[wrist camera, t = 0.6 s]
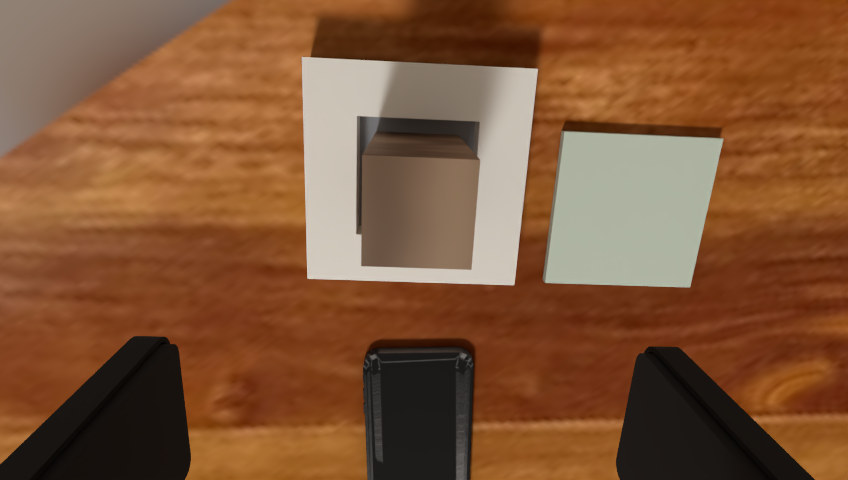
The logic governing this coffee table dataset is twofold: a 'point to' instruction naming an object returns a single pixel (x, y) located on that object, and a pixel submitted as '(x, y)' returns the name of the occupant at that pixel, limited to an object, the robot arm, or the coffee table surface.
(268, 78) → the coffee table surface
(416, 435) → the phone
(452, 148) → the walnut block
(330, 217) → the pocket plate
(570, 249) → the green mat
